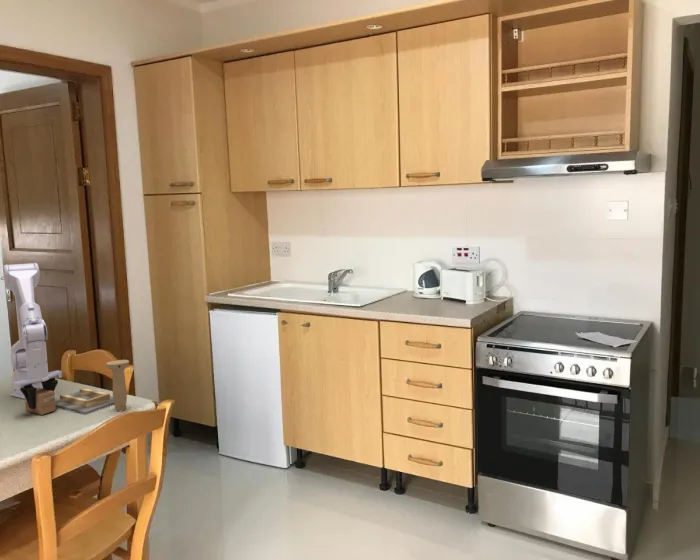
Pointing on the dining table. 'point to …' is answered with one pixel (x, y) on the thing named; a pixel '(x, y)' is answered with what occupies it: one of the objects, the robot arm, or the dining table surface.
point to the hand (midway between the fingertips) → (40, 405)
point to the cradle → (84, 401)
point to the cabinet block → (43, 401)
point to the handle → (119, 383)
